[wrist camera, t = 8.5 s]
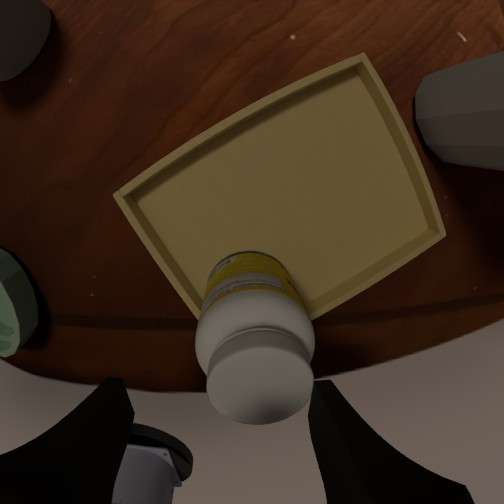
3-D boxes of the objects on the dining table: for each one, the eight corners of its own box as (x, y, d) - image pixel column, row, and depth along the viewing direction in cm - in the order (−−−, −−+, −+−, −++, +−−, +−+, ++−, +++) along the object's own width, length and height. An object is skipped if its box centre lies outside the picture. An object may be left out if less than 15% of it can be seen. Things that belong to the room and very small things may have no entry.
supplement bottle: (287, 324, 21) (318, 433, 11) (207, 323, 20) (190, 434, 11) (294, 247, 19) (344, 329, 10) (206, 245, 19) (178, 328, 9)
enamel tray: (231, 345, 22) (230, 362, 20) (123, 191, 18) (111, 195, 16) (431, 228, 20) (446, 235, 18) (353, 60, 16) (364, 52, 14)
